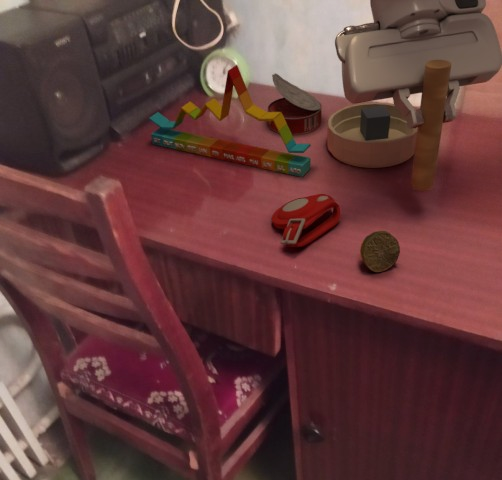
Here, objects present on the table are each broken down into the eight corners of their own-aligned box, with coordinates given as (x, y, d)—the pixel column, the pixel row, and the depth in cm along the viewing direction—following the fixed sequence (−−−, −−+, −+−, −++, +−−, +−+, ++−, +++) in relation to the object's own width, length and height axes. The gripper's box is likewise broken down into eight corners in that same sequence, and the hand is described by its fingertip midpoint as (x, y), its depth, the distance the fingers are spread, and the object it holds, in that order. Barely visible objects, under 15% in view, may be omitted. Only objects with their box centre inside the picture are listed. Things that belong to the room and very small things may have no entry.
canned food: (286, 135, 115) (295, 80, 112) (327, 142, 110) (339, 85, 106) (248, 127, 107) (258, 69, 104) (291, 135, 101) (303, 73, 98)
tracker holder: (261, 206, 86) (323, 179, 86) (271, 232, 89) (332, 206, 88) (278, 234, 76) (349, 204, 76) (289, 263, 78) (358, 233, 78)
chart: (152, 144, 106) (135, 58, 96) (162, 137, 108) (146, 51, 98) (301, 177, 94) (300, 83, 84) (310, 168, 96) (310, 75, 85)
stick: (427, 178, 82) (444, 58, 71) (437, 188, 79) (456, 65, 69) (407, 182, 81) (421, 61, 71) (416, 192, 79) (432, 69, 68)
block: (381, 128, 103) (384, 105, 100) (388, 138, 100) (390, 115, 98) (359, 130, 103) (361, 108, 100) (365, 140, 100) (367, 118, 97)
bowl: (410, 125, 105) (413, 100, 101) (425, 166, 94) (429, 140, 91) (325, 129, 106) (325, 104, 103) (330, 171, 95) (330, 144, 92)
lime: (401, 262, 76) (406, 230, 73) (382, 281, 74) (385, 249, 70) (372, 250, 79) (375, 219, 75) (352, 268, 76) (354, 236, 73)
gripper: (338, 14, 70) (362, 127, 70) (496, -9, 72) (519, 100, 72) (325, 42, 76) (347, 146, 76) (471, 20, 78) (493, 120, 78)
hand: (432, 123), depth 74 cm, fingers closed on stick, 3 cm apart
